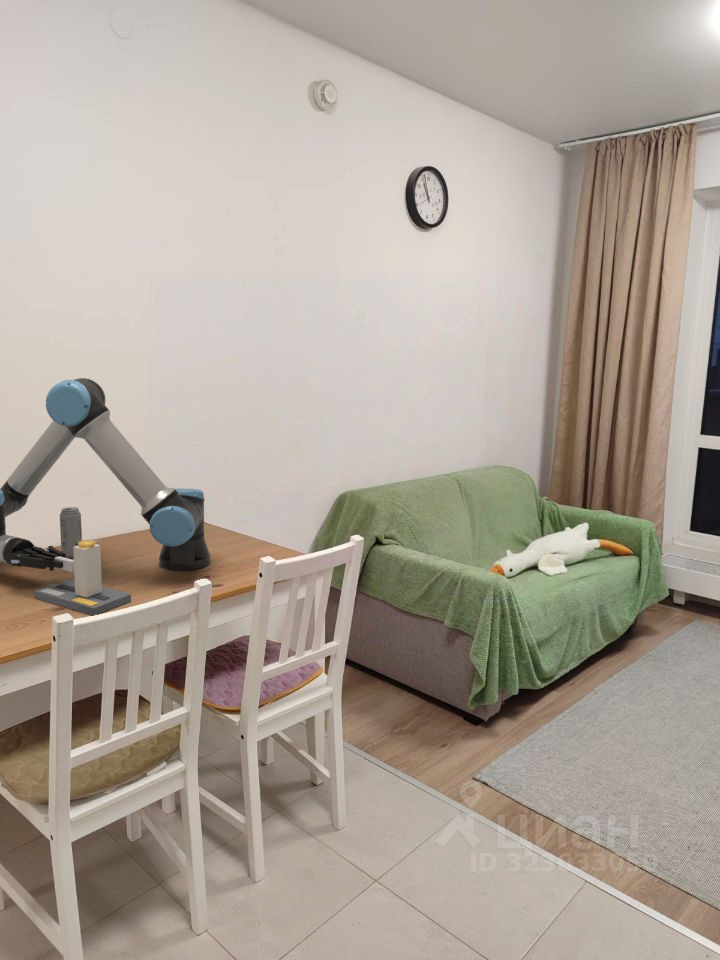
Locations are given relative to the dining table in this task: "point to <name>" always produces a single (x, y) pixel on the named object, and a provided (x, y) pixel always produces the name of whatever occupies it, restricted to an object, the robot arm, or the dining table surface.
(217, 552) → the dining table surface
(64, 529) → the energy drink can
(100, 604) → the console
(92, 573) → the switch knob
